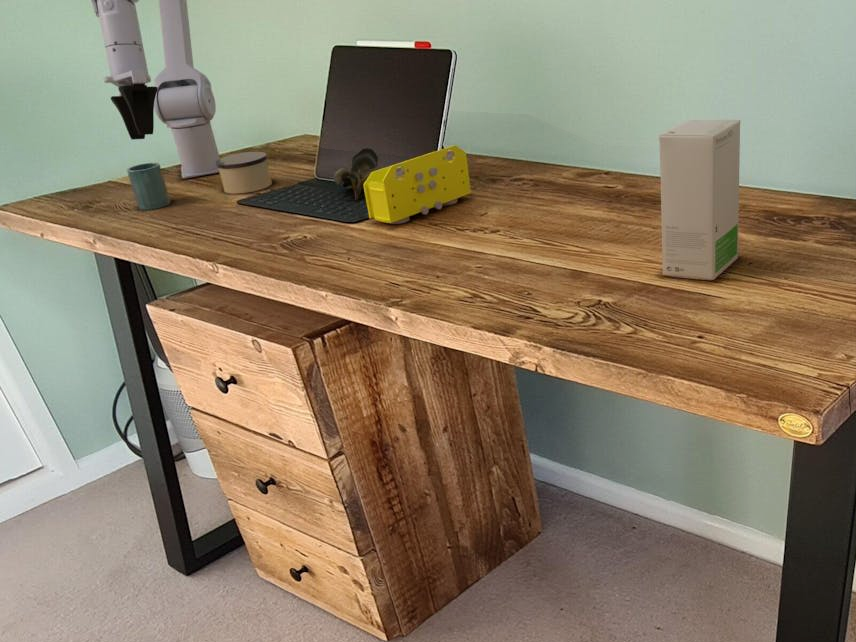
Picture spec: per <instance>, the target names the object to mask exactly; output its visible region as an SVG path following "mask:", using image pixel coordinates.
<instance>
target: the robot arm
mask: <svg viewBox="0 0 856 642" xmlns="http://www.w3.org/2000/svg"><path fill="white" fill-rule="evenodd" d="M157 1H158V10H159V19H160V28H161V36H162V37H161V38H162V45H163V46H162V47H163V48H162V49H163V55H164V56H163V57H164V65H165V66H164V68H163V69H162V70H161V71H160V72H159V73H158V74H157V75H156V77H155V78H154V79H153V86H148V85H147V84H149V83H151V82H152V78H151V76H150V75H149V69H148V64H147V58H146V53H145V48H144V43H143V38H142V33H141V28H140V27H141V26H140V23H139V17H138V12H137V7H136V4H135V3H139V2H140V0H91V3H92V7H93V11H94V13H95V16H96V17H98V18H99V21H100V22H99V24H100V27H101V34H102V38H103V43H104V48H105V52H106V57H107V62H108V67H109V73H110V76H103V82H104V84H112V85H114V86H116V87H117V91H118V94H119V95H112V96H110V100H111V102H112V103H113V105H114V106H115V107H116V109H117V111H118V112H119V114H120V116H121V118H122V121H123V123H124V126H125V128H126V130H127V133H128V135H129V137H130V139H131V140H134V141H135V140H145V138H146V135H147V136H148V135H153V134H154V128H155V127H154V126H155V125H154V122H155V121H154V113H155V114H156V116H157V118H158V119H159V120H160V121H161V123H163V124H164V125H166V128H168V129H169V128H170V130H171V133H172V136H173V137H172V138H173V140H174V144H175V147H176V150H177V154H178V159H179V161H180V164H181V167H180V170H181V171H180V172H181V178H182V179H183V180H184V179H185V180H186V179H192V178H197V177H203V176H207V175H208V176H209V175H214V174H220V173H219V170H218V167H217V166H216V161H217V160H218V159H220V158H221V157H220V153H219V150H218V146H217V142H216V139H215V134H214V131H213V127H212V124H211V121H212V120H213V119H214V118H215V115H216V112H217V111H216V110H217V107H216V100H215V96H214V92H213V90H212V84H211V81H210V79H209V78H208V77H207V75H205V74H204V73H203V72H201V71H199V70H198V69H196V68H195V67H194V59H193V58H194V57H193V49H192V48H193V47H192V40H191V39H192V38H191V29H190V19H189V10H188V1H187V0H157Z"/></svg>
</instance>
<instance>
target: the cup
mask: <svg viewBox="0 0 856 642" xmlns="http://www.w3.org/2000/svg"><path fill="white" fill-rule="evenodd" d="M126 172H127V175H128V179H129V182H130V185H131V188H132V191H133V194H134V198H135V200H136V203H137V206H138V209H139V210H144V211H149V210H156V209H160V208H164V207H166V206H169V205H170V204H171V203H172V201H171V197H170V194H169V190H168V187H167V184H166V180H165V177H164V174H163V171H162V168H161V164H160V163H159V162H147V163H146V162H145V163H140V164H136V165H133V166H129V167H128V168H127V169H126Z"/></svg>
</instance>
